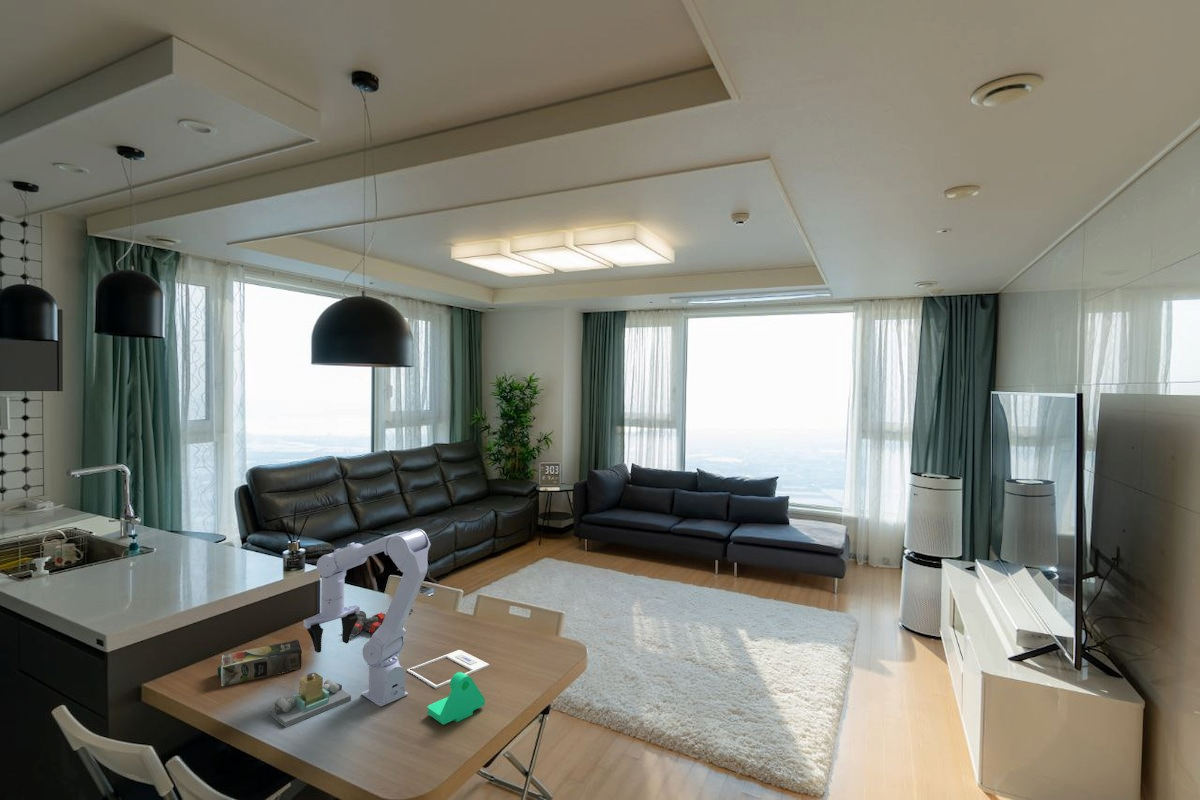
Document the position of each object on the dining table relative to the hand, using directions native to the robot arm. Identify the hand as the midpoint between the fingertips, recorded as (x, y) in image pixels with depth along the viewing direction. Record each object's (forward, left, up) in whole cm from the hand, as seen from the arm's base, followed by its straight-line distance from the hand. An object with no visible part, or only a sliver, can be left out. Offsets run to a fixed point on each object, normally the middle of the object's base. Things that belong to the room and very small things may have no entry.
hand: (331, 646), depth 155 cm
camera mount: (-38, -13, -10) cm, 41 cm away
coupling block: (-8, +9, -9) cm, 15 cm away
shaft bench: (-8, +9, -10) cm, 16 cm away
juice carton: (+22, +10, -10) cm, 26 cm away
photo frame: (-17, -26, -11) cm, 33 cm away
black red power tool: (+24, -31, -11) cm, 41 cm away
